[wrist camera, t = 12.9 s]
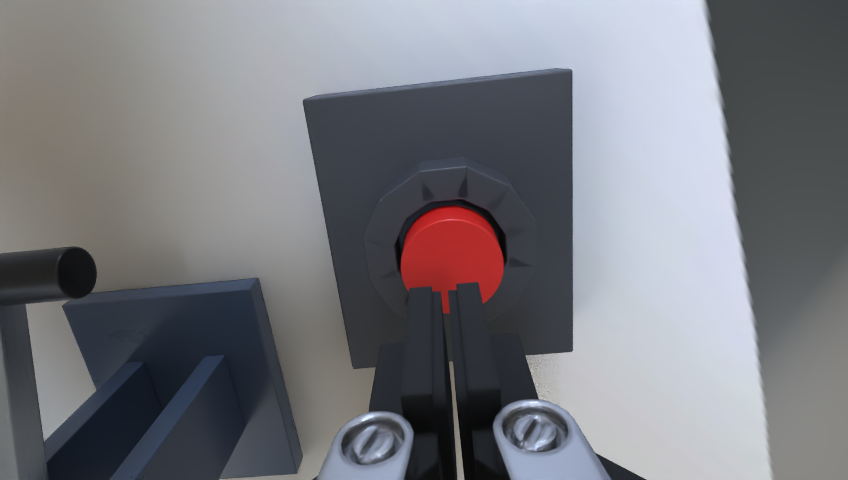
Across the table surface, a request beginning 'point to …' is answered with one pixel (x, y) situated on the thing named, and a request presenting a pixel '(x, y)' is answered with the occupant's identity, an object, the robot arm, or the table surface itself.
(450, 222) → the stop button
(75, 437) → the switch bracket
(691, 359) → the table surface
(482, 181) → the button housing
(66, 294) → the switch lever
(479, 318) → the robot arm
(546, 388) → the table surface
